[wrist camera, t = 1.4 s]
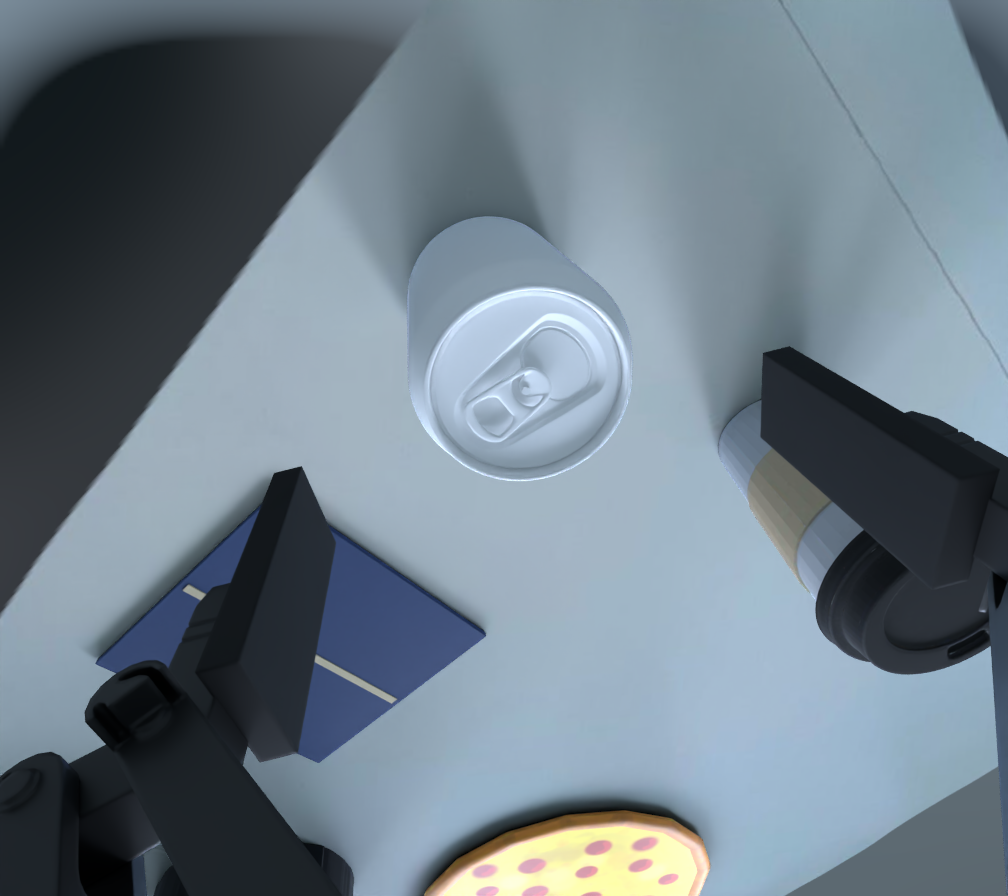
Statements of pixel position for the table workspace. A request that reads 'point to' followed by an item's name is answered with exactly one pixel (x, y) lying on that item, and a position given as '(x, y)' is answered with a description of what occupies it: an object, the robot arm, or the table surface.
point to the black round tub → (172, 891)
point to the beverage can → (513, 351)
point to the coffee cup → (853, 567)
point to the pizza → (583, 859)
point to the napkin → (327, 637)
